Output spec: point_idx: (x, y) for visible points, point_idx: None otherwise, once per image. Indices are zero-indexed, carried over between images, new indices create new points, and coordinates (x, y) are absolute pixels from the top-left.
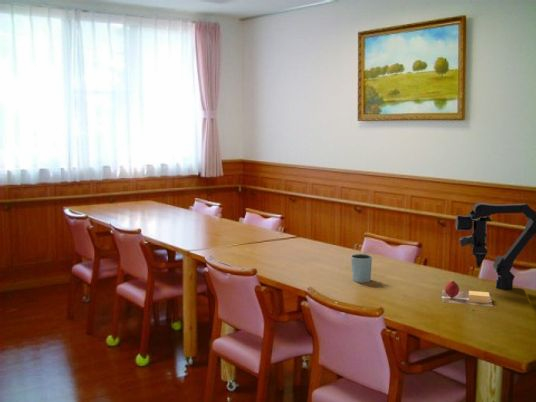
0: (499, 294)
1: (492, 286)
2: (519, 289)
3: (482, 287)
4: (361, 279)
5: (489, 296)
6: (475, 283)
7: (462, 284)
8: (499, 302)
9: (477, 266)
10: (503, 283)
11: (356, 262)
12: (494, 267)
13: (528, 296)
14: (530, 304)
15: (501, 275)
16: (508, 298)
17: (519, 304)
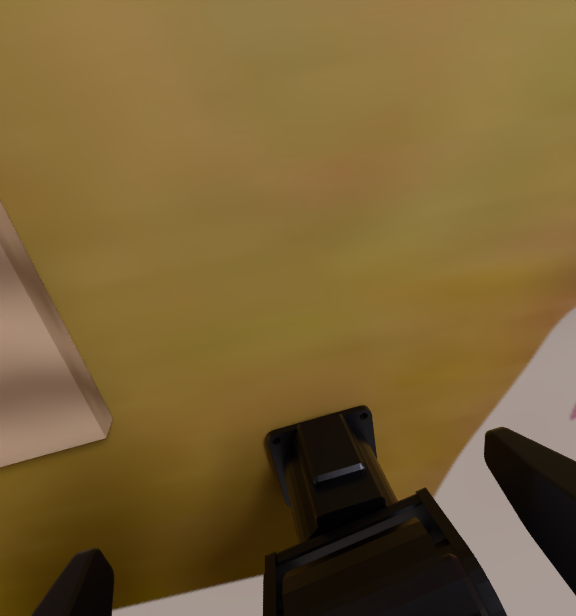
0: (227, 449)
1: (416, 368)
2: None
3: (362, 316)
4: None
5: (13, 456)
6: (465, 241)
7: (396, 135)
8: (15, 496)
9: (72, 567)
10: (294, 516)
11: None
12: (373, 596)
13: None
14: (112, 607)
15: (268, 598)
16: (161, 508)
17: None
